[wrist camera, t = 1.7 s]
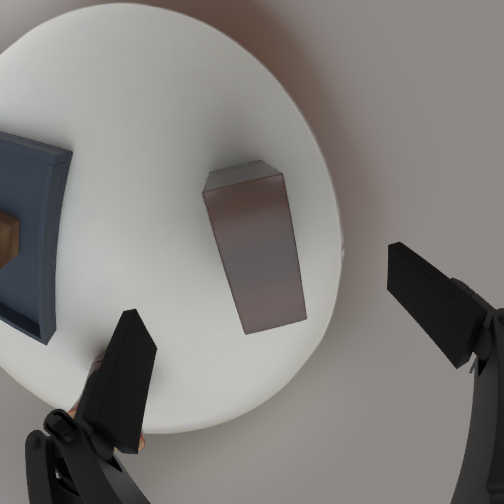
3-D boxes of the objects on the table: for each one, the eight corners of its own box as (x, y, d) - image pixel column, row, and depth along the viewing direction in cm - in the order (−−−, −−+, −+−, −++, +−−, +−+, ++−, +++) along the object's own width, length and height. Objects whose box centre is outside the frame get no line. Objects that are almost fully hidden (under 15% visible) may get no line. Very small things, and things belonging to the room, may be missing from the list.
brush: (208, 172, 21) (201, 192, 14) (262, 159, 21) (283, 173, 14) (237, 278, 25) (245, 335, 18) (283, 266, 25) (307, 319, 18)
